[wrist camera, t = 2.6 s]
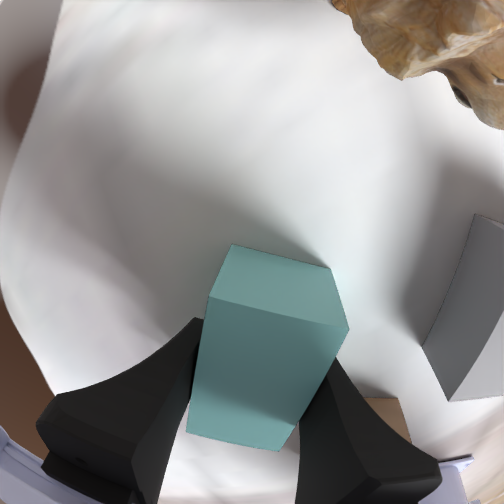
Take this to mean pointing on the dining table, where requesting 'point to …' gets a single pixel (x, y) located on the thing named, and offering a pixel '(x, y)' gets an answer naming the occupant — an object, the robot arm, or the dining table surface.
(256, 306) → the teal brick
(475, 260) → the gray brick
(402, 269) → the dining table surface
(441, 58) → the lion figurine
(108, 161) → the dining table surface
